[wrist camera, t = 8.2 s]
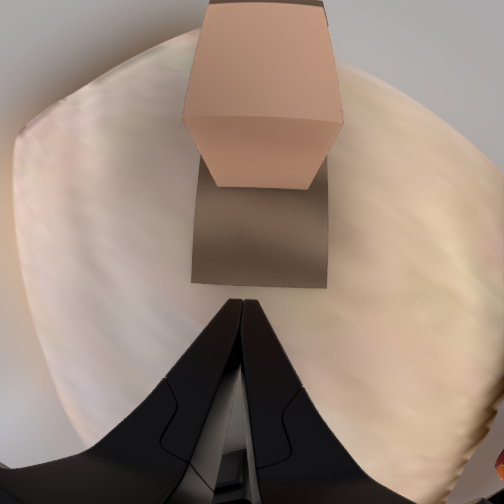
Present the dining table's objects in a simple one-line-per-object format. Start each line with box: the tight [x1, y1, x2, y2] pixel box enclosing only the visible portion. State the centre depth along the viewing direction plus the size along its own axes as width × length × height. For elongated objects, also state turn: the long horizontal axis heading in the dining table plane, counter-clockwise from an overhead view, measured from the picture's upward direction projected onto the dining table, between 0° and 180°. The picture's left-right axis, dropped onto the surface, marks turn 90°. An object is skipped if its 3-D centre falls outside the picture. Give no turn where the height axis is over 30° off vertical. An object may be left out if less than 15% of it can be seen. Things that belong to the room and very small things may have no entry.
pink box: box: [182, 2, 343, 190], centre depth 14 cm, size 8×6×9 cm
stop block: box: [191, 0, 328, 288], centre depth 15 cm, size 18×9×9 cm, turn 178°
